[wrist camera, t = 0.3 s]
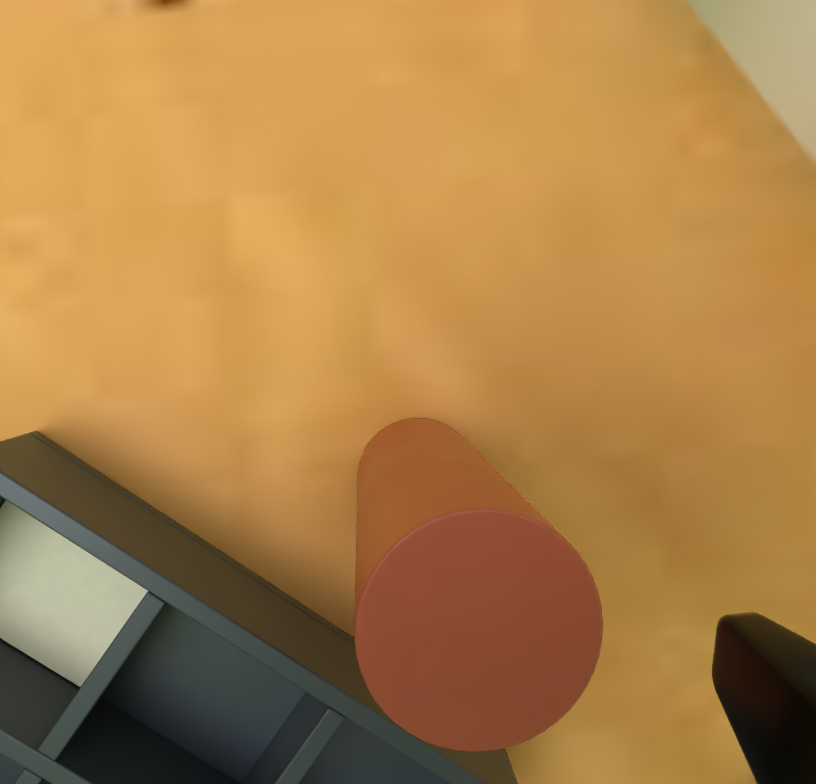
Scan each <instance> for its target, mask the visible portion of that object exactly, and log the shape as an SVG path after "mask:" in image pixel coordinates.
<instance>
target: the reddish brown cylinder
mask: <svg viewBox="0 0 816 784" xmlns="http://www.w3.org/2000/svg"><path fill="white" fill-rule="evenodd" d="M602 632H603V618H602V607H601V602H600V598H599V593H598V590H597V587H596V585H595V582H594V579H593V577H592V575H591V573H590V571H589V569H588V567H587V565H586V563H585V562H584V561H583V559H582V558H581V556H580V555H579V554H578V552H577V551H576V550H575V549H574V548H573V547H572V546H571V544H570V543H569V542H568V541H567V540H566V539H565V538H564V537H563V536H562V535H561V534H560V533H559V532H558V531H557V530H556V529H555V528H554V527H553V526H552V525H551V524H550V523H549V522H548V521H546V520H545V519H544V518H543V517H542V516H541V515H540V514H539V513H538V512H537V511H536V510H535V509H534V508H533V507H532V506H531V505H530V504H529V503H528V502H527V501H526V500H525V499H524V498H523V497H522V496H521V495H520V494H519V493H518V492H517V491H516V490H515V489H514V488H513V487H512V486H511V485H510V484H509V483H508V482H507V481H506V480H505V479H504V478H503V477H502V476H501V475H500V474H499V473H498V472H497V471H496V470H495V469H494V468H493V467H492V466H491V465H490V464H489V463H488V462H487V461H486V460H485V459H484V458H483V457H481V456H480V455H479V454H478V453H477V452H476V451H475V450H474V449H473V448H472V447H471V446H470V445H469V444H468V443H467V442H466V441H465V440H464V439H463V438H462V437H461V436H460V435H459V434H458V433H457V432H456V431H454V430H453V429H452V428H450V427H449V426H447V425H445V424H443V423H441V422H438V421H435V420H431V419H425V418H411V419H405V420H401V421H398V422H395V423H393V424H391V425H389V426H387V427H385V428H384V429H383V430H381V431H380V432H379V433H378V434H376V435H375V436H374V437H373V438H372V440H371V441H370V442H369V443H368V445H367V447H366V448H365V450H364V452H363V454H362V456H361V459H360V463H359V467H358V474H357V526H356V578H355V631H354V641H355V650H356V657H357V661H358V664H359V668H360V672H361V674H362V677H363V679H364V682H365V684H366V686H367V688H368V690H369V691H370V693H371V695H372V696H373V698H374V700H375V701H376V702H377V704H378V705H379V706H380V707H381V709H382V710H383V711H384V712H385V713H386V714H387V715H388V716H389V717H390V718H391V719H392V720H393V721H394V722H395V723H396V724H398V725H399V726H400V727H402V728H403V729H404V730H406V731H407V732H408V733H410V734H412V735H414V736H415V737H417V738H419V739H421V740H423V741H425V742H428V743H431V744H433V745H436V746H439V747H443V748H447V749H451V750H458V751H467V752H482V751H491V750H498V749H503V748H507V747H510V746H514V745H517V744H519V743H522V742H524V741H527V740H529V739H531V738H533V737H535V736H537V735H538V734H540V733H542V732H544V731H545V730H547V729H548V728H549V727H551V726H552V725H553V724H555V723H556V722H557V721H559V720H560V719H561V718H562V717H563V716H564V715H565V714H566V713H567V712H568V711H569V710H570V709H571V708H572V706H573V705H574V704H575V703H576V701H577V700H578V699H579V698H580V696H581V694H582V693H583V691H584V690H585V688H586V687H587V685H588V683H589V681H590V679H591V676H592V674H593V672H594V670H595V667H596V664H597V660H598V657H599V653H600V648H601V642H602Z"/></svg>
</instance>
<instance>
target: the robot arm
mask: <svg viewBox="0 0 816 784" xmlns="http://www.w3.org/2000/svg"><path fill="white" fill-rule="evenodd" d="M712 678H713V684H714V687H715V690H716V693H717V695H718V697H719V700H720V702H721V704H722V706H723V708H724V711H725V713H726V715H727V717H728V720H729V722H730V724H731V726H732V729H733V731H734V733H735V735H736V738H737V740H738V742H739V744H740V747H741V749H742V751H743V753H744V756H745V758H746V760H747V762H748V764H749V767H750V769H751V771H752V773H753V776H754V778H755V780H756V782H757V784H816V644H815V643H813V642H811V641H809V640H807V639H805V638H804V637H802V636H800V635H798V634H796V633H794V632H792V631H790V630H789V629H787V628H785V627H783V626H781V625H779V624H777V623H775V622H774V621H772V620H770V619H768V618H766V617H764V616H762V615H760V614H758V613H753V612H748V613H739V614H730V615H725V616H723V617H721V618H720V620H719V622H718V624H717V630H716V638H715V647H714V655H713V664H712Z"/></svg>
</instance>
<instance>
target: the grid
mask: <svg viewBox="0 0 816 784" xmlns="http://www.w3.org/2000/svg"><path fill="white" fill-rule="evenodd" d="M0 784H518V783H517V781H516V778H515V775H514V772H513V769H512V766H511V764H510V761H509V758H508V755H507V752H506V749H505V748H503V749H498V750H491V751H482V752H467V751H458V750H451V749H447V748H443V747H439V746H436V745H433V744H431V743H428V742H425V741H423V740H421V739H419V738H417V737H415V736H414V735H412V734H410V733H408V732H407V731H406V730H404V729H403V728H402V727H400V726H399V725H398V724H396V723H395V722H394V721H393V720H392V719H391V718H390V717H389V716H388V715H387V714H386V713H385V712H384V711H383V710H382V709H381V707H380V706H379V705H378V704H377V702H376V701H375V700H374V698H373V696H372V695H371V693H370V691H369V690H368V688H367V686H366V684H365V682H364V679H363V677H362V674H361V672H360V668H359V664H358V661H357V657H356V650H355V641H354V638H353V637H351V636H349V635H348V634H346V633H345V632H343V631H342V630H340V629H339V628H337V627H336V626H334V625H333V624H331V623H330V622H328V621H326V620H325V619H323V618H322V617H320V616H319V615H317V614H316V613H314V612H313V611H311V610H310V609H308V608H307V607H305V606H303V605H302V604H300V603H299V602H297V601H296V600H294V599H293V598H291V597H290V596H288V595H287V594H285V593H284V592H282V591H280V590H279V589H277V588H276V587H274V586H273V585H271V584H270V583H268V582H267V581H265V580H264V579H262V578H261V577H259V576H257V575H256V574H254V573H253V572H251V571H250V570H248V569H247V568H245V567H244V566H242V565H241V564H239V563H238V562H236V561H234V560H233V559H231V558H230V557H228V556H227V555H225V554H224V553H222V552H221V551H219V550H218V549H216V548H215V547H213V546H211V545H210V544H208V543H207V542H205V541H204V540H202V539H201V538H199V537H198V536H196V535H195V534H193V533H192V532H190V531H189V530H187V529H185V528H184V527H182V526H181V525H179V524H178V523H176V522H175V521H173V520H172V519H170V518H169V517H167V516H166V515H164V514H162V513H161V512H159V511H158V510H156V509H155V508H153V507H152V506H150V505H149V504H147V503H146V502H144V501H143V500H141V499H139V498H138V497H136V496H135V495H133V494H132V493H130V492H129V491H127V490H126V489H124V488H123V487H121V486H120V485H118V484H116V483H115V482H113V481H112V480H110V479H109V478H107V477H106V476H104V475H103V474H101V473H100V472H98V471H97V470H95V469H93V468H92V467H90V466H89V465H87V464H86V463H84V462H83V461H81V460H80V459H78V458H77V457H75V456H74V455H72V454H70V453H69V452H67V451H66V450H64V449H63V448H61V447H60V446H58V445H57V444H55V443H54V442H52V441H51V440H49V439H47V438H46V437H44V436H43V435H41V434H40V433H38V432H37V431H34V432H30V433H28V434H24V435H21V436H18V437H14V438H11V439H7V440H4V441H0Z"/></svg>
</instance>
